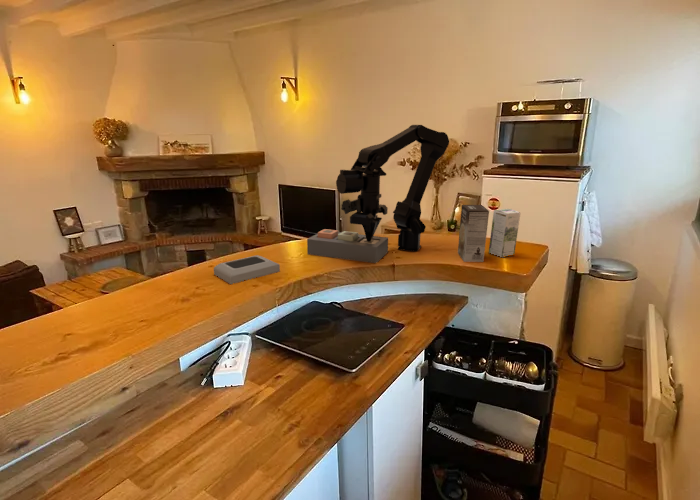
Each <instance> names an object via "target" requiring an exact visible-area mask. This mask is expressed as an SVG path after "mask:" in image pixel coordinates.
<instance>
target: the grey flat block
mask: <svg viewBox="0 0 700 500" xmlns="http://www.w3.org/2000/svg"><path fill="white" fill-rule="evenodd" d="M280 267H281V266H280V264H279V263H277V262H275V261H273V260H271V259H268V258H267V257H264V256H262V255H258V254H257V255H252V256H248V257H244V258H238V259H233V260H229V261H225V262H220V263H218V264H217V265H215V266H214V267H213V275H214V276H215V275H216V277H217V276H218V278H219V279H220V280H222V279H223V281H224V282H226V283H228V284H229V285H233V283H234V284H237V283H241V281H242V282H245V281H244V280H246V281H248V279H249V280H252V278H253V279H256V277H257V278H260V277H265V276H267V275H272V274H275V273H279V272H281V270H280Z"/></svg>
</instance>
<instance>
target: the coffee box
mask: <svg viewBox="0 0 700 500" xmlns="http://www.w3.org/2000/svg"><path fill="white" fill-rule="evenodd" d="M489 215H490V210H489V209H487V208H486V207H485V206H483V205H482V204H462V205H461V212H460V223H459V232H458V234H459V235H458V245H457V254H458V256H459V257H460V258H461V259H462V261H463V263H465V262H466V263H467V262H469V263H472V262H473V263H483V262H484V259H485V253H486V252H485V251H486V241H487V235H488V234H487V233H488V225H489Z"/></svg>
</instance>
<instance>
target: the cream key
mask: <svg viewBox="0 0 700 500" xmlns="http://www.w3.org/2000/svg"><path fill="white" fill-rule="evenodd" d="M378 241H379V240H371V241H367V239H363V240H362V241H360V242H361V243H370V244H376V243H377V242H378Z"/></svg>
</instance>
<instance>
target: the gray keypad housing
mask: <svg viewBox="0 0 700 500" xmlns="http://www.w3.org/2000/svg"><path fill="white" fill-rule="evenodd" d="M342 232H343V231H341V232H340V231H338V234H340V233H342ZM363 239H366V235H365V234H361V233H360V234H359V233H358V239H357V240H355V241H354V242H353V241H344V240H338V236H337V237H336V238H334V239H327V238H318V233H315V235H312V236H310V237H308V238H307V239H306V243H307V244H306V247H307V249H306V250H307V255H310V256H319V257H325V258H332V259H342V260H347V261H348V260H350V261H355V262H356V261H357V262H364V263H371V264H372V263H373V264H377V263H378V262H379V261H380V260H381V259H382V258H384V256H386V254H388V252H389V237H387V236H379V235H373V238H372V240H379V241H378V242H377V243H376V244H370V243H361V242H360V241H362V240H363Z"/></svg>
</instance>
